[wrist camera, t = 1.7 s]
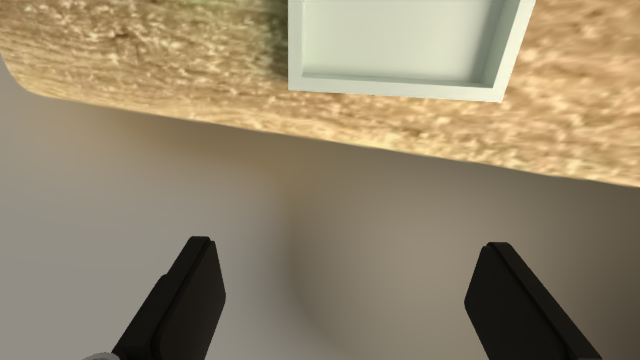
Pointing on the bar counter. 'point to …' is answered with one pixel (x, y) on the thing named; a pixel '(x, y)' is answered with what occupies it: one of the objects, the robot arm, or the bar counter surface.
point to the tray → (406, 47)
